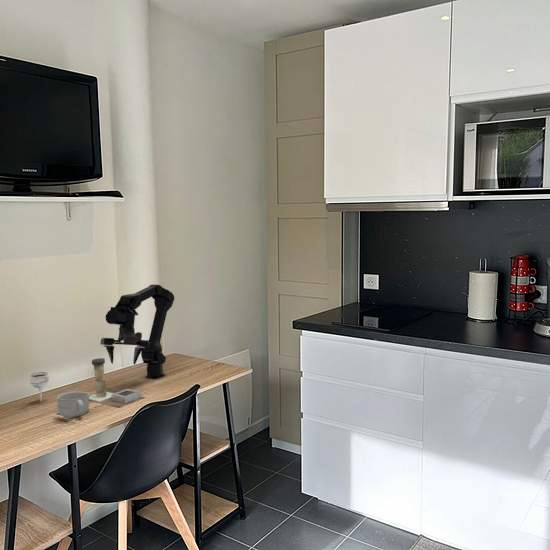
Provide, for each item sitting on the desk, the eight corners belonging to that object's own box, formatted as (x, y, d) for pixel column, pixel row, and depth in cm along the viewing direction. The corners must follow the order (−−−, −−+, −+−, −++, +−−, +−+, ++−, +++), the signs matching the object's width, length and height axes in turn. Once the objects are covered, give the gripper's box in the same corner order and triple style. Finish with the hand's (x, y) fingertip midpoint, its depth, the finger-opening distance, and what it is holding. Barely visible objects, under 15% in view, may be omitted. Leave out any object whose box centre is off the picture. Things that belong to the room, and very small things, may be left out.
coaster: (103, 392, 221) (103, 391, 221) (118, 395, 216) (118, 394, 215) (84, 398, 213) (84, 397, 213) (99, 402, 208) (99, 401, 208)
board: (108, 392, 224) (108, 389, 224) (145, 400, 212) (145, 397, 212) (81, 401, 214) (81, 398, 214) (118, 411, 201) (118, 408, 201)
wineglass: (33, 409, 207) (30, 378, 206) (30, 404, 213) (27, 374, 212) (52, 405, 211) (50, 374, 210) (48, 400, 217) (46, 371, 215)
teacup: (57, 414, 200) (55, 393, 200) (88, 408, 205) (86, 388, 204) (61, 427, 188) (59, 404, 187) (94, 420, 193) (92, 398, 192)
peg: (105, 393, 218) (102, 357, 216) (109, 395, 214) (106, 359, 212) (93, 395, 215) (90, 360, 213) (97, 398, 211) (93, 362, 210)
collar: (127, 394, 216) (127, 388, 216) (141, 398, 212) (140, 391, 211) (111, 400, 210) (111, 394, 209) (125, 404, 205) (124, 397, 205)
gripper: (109, 323, 214) (105, 364, 212) (155, 327, 224) (152, 365, 222) (102, 323, 224) (98, 362, 222) (146, 327, 233) (143, 364, 231)
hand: (123, 363), depth 224 cm, fingers open, 9 cm apart
